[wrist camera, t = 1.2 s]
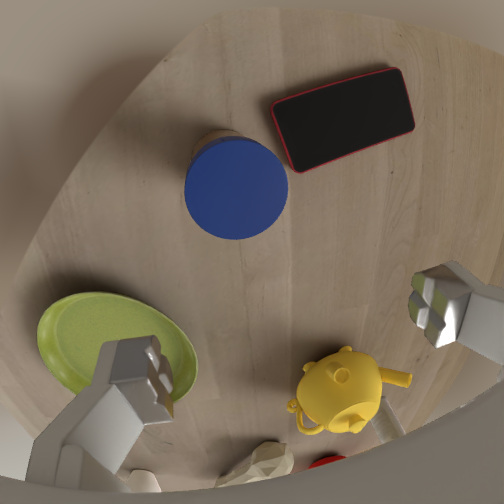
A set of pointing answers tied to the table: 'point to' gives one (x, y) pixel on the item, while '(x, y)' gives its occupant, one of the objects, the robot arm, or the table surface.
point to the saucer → (108, 337)
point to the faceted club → (261, 465)
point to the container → (386, 423)
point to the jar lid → (235, 187)
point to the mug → (142, 482)
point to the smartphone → (342, 118)
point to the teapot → (342, 391)
